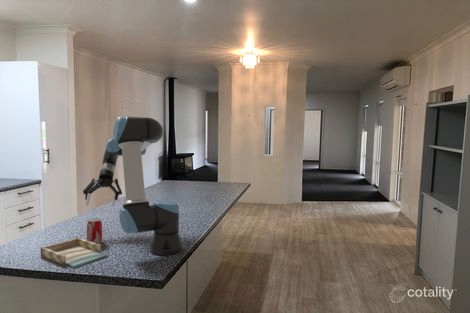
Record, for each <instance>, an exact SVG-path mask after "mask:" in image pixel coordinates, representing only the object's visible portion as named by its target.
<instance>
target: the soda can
mask: <svg viewBox="0 0 470 313" xmlns="http://www.w3.org/2000/svg"><path fill="white" fill-rule="evenodd" d="M86 240H87V241H90V242H93V243H96V244H100V245H101V243H102V241H103V222H102V220H101V218H98V217H97V218H90V219H88V220H87V223H86Z"/></svg>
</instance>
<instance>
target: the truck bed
mask: <svg viewBox="0 0 470 313" xmlns="http://www.w3.org/2000/svg"><path fill="white" fill-rule="evenodd" d="M40 258H44V259H46V260H48V261H51V262H53V263H55V264H58V265H61V266H66V267H67V266H68V267H70V268H73V269H75V268H76V269H77V268H78V267H81V266H84V265H86V264H90V263H93V262H96V261H99V260H102V259H104V258H108V254H106V253H104V252H102V245H101V243H100V244H96V243H93V242H90V241H87V239H83V238H81V237H77V238H73V239H68V240H65V241H61V242H57V243H54V244H49V245H46V246H42V247H40Z"/></svg>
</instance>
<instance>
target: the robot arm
mask: <svg viewBox="0 0 470 313" xmlns="http://www.w3.org/2000/svg"><path fill="white" fill-rule="evenodd" d="M163 133H164V128H163V126H162V124H161V123H160V122H159V121H157V120H156V119H155V118H152V117H142V116H141V117H140V116H139V117H137V116H119V117H117V118H116V119H115V122H114V126H113V132H112V134H113V136H112V138H110V139H109V140H108V141H107V143H106V145H105V150H104V155H103V159H102V163H101V167H100V170H99V171H100V172H99V175H98V179H95V178H92V179H91V181H90V183H89V184H88V185H87V186H86V187H85V188H84V189H83V190H82V193H83V195H85V197H84V199H85V203H84V204H85V206H86V207H89V203H90V200H91V194H93V193H95V191H97V190H98V189H100V188H110V189H111V190H112V192H113V197H112V201H111V204H112V207H115V206H116V201H118V199H119V195H121V196H122V195H123V191H122V188H121V187H120V184H119V180H118V178H115V179H114V176H115V171H116V166H117V161H118V158H119V157H120V156H121V157H122V166H123V168H122V169H123V178H124V179H123V181H124V192H125V201H124V203H123V204H122V207H121V208H120V209H119V221H120V226H121V228H122V231H124V233H125V234H127V235H128V234H139V233H145V232H152V231H153V236H152V239H151V240H152V241H151V244H150V245H149V246H150V247H149V248H150V249H149V250H150V253H151V254H153V255H157V256H170V255H175V254H178V253H180V252H182V251H183V243H182V240H181V236H180V233H179V232H180V229H179V228H180V211H179V209H180V208H179V205H178V204H177V203H176V202H173V201H168V200H156V201H154V202H153V205H151V204H150V201H149V200H148V199H147V198H146V191H145V190H146V189H145V180H144V167H143V157H142V156H144V155H145V154H146V152H147V148H148V147H149V146H151V145H152V144H155V143H158V142H159V141H160V140H161V139H162V137H163V135H164V134H163ZM113 183H114V185H115V186H116V188H117V189H116V188H115V187H114V186H113Z"/></svg>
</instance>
